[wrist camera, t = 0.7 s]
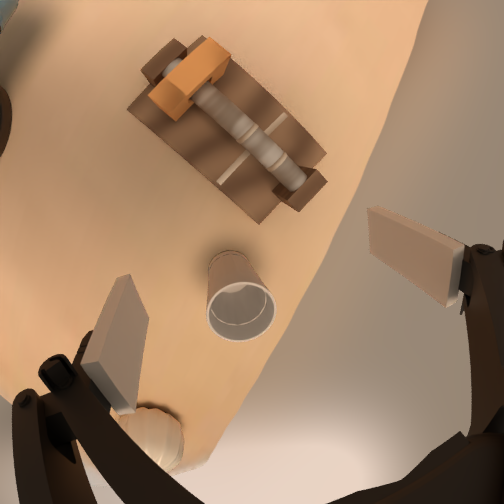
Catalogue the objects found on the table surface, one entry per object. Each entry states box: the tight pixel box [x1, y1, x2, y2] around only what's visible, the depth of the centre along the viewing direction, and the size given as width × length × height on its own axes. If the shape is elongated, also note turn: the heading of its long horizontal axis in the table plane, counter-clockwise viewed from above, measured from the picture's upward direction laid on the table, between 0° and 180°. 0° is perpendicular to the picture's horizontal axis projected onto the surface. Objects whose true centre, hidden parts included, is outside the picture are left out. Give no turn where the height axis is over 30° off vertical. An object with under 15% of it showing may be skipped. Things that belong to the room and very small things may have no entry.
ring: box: [148, 37, 231, 121], centre depth 27 cm, size 3×8×8 cm, turn 136°
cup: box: [206, 251, 277, 342], centre depth 38 cm, size 8×8×12 cm
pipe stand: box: [127, 36, 328, 224], centre depth 32 cm, size 24×14×8 cm, turn 46°
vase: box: [119, 407, 184, 473], centre depth 46 cm, size 14×14×13 cm
